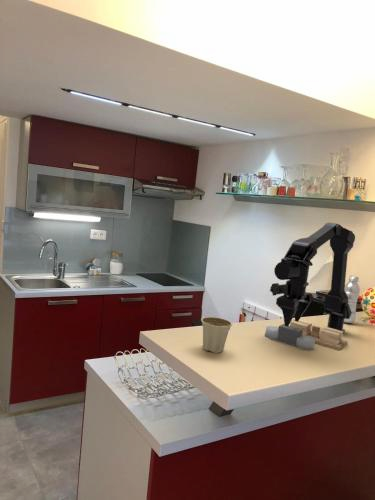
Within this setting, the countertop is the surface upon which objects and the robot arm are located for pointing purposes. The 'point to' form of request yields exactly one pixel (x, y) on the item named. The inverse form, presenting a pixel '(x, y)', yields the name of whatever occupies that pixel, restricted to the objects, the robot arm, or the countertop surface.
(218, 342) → the flower pot
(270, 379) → the countertop surface
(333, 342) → the display stand
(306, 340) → the grey dumbbell shape
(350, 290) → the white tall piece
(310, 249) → the robot arm
